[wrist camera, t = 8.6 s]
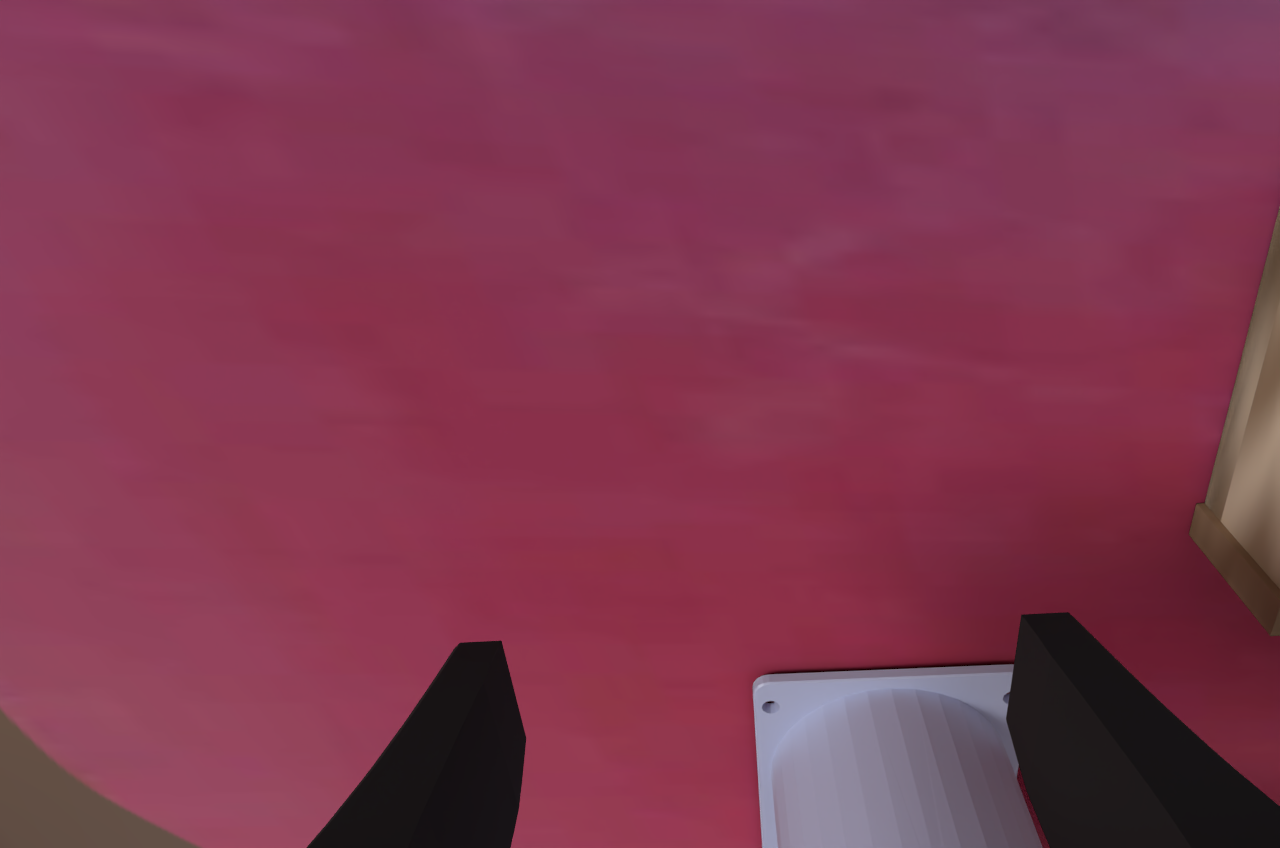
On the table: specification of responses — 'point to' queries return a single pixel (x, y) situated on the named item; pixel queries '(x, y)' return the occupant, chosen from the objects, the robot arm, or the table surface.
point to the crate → (1250, 465)
